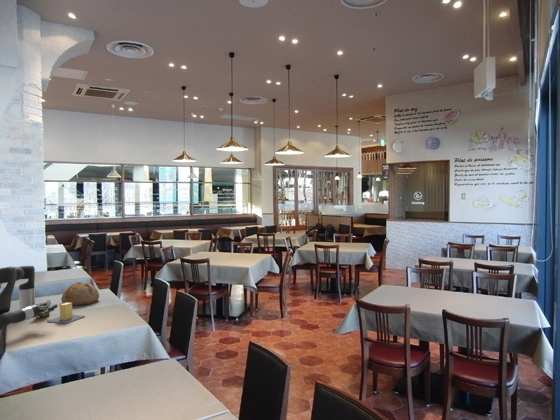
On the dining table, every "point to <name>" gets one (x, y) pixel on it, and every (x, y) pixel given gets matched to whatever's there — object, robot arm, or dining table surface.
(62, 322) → the mat
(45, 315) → the food container
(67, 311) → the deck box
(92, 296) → the bread
